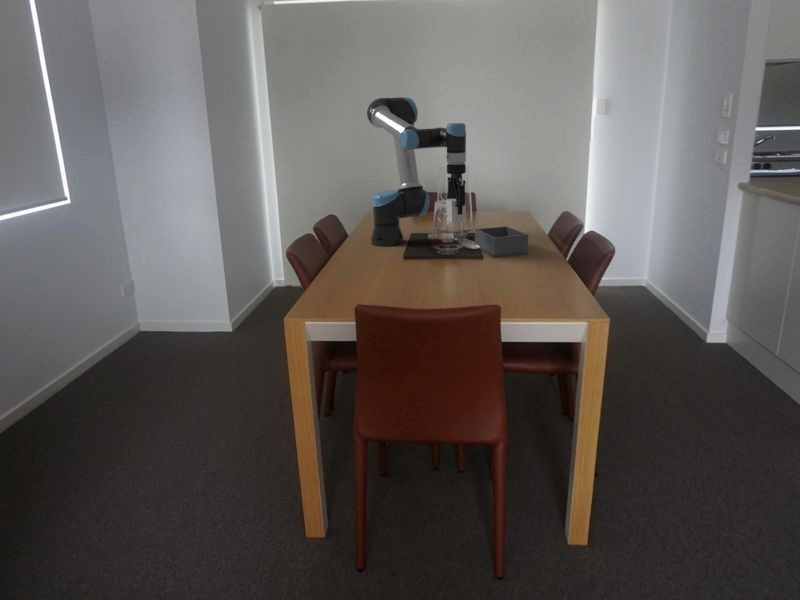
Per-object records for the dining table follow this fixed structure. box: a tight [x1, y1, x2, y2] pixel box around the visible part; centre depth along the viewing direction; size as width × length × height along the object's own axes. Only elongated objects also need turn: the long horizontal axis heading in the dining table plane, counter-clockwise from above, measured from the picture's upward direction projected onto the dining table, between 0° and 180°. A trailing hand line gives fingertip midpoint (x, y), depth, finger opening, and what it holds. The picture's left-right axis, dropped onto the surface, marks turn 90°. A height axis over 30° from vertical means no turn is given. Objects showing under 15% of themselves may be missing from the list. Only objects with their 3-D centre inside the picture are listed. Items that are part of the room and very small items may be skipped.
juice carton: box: [446, 198, 467, 224], centre depth 245 cm, size 6×6×10 cm
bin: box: [474, 225, 529, 258], centre depth 252 cm, size 20×15×8 cm
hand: (456, 220), depth 246 cm, fingers closed on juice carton, 6 cm apart
